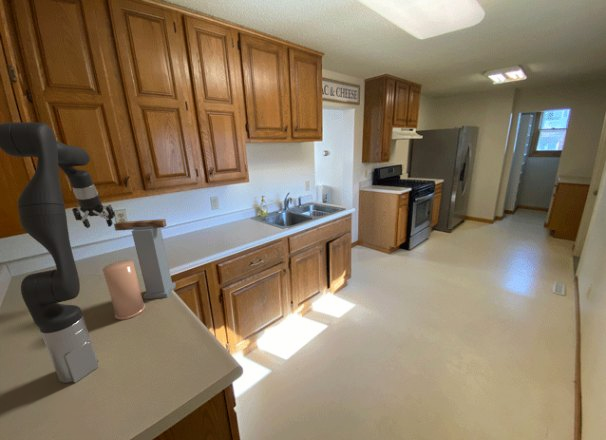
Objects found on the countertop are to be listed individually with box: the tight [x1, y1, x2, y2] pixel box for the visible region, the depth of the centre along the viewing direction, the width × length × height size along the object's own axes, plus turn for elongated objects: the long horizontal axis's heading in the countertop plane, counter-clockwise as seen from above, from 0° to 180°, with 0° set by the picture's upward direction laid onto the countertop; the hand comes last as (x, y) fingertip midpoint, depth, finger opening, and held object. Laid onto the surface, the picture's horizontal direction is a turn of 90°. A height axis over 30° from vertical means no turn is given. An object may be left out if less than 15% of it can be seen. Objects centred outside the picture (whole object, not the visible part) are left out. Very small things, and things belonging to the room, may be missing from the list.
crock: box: [102, 259, 146, 321], centre depth 103 cm, size 11×11×21 cm
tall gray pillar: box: [131, 226, 177, 300], centre depth 116 cm, size 10×10×33 cm
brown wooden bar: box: [113, 218, 167, 232], centre depth 111 cm, size 20×3×3 cm, turn 95°
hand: (99, 226), depth 117 cm, fingers open, 8 cm apart
